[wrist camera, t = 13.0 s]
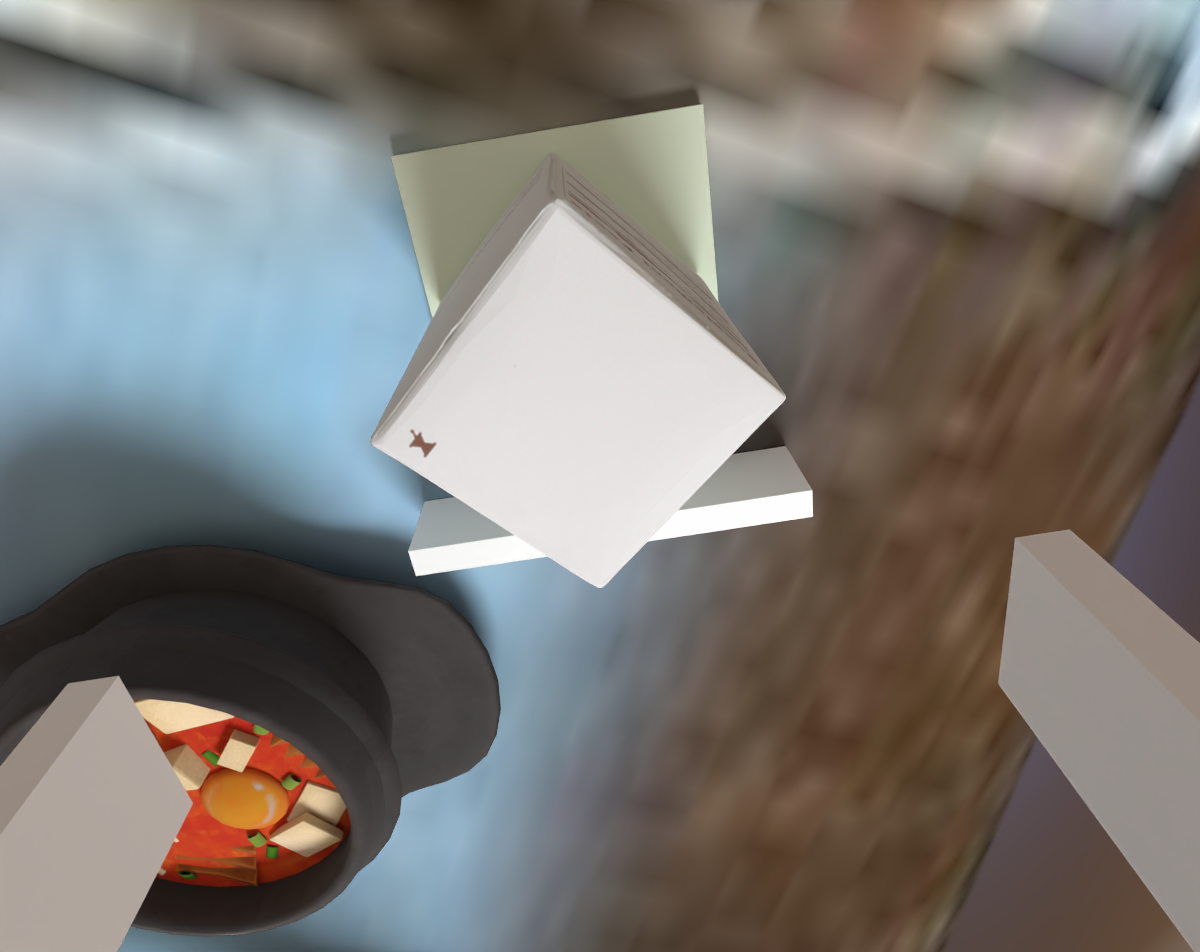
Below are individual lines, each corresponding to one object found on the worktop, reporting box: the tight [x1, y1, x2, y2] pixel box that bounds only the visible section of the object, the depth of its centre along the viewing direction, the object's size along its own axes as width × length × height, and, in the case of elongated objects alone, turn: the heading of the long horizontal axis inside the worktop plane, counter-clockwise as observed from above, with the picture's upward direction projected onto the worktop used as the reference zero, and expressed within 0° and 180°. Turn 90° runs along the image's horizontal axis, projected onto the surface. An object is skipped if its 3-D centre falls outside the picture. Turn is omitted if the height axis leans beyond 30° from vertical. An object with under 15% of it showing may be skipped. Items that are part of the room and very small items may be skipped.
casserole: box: [0, 545, 501, 936], centre depth 34 cm, size 25×19×8 cm
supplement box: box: [371, 153, 786, 588], centre depth 24 cm, size 7×7×13 cm
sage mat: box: [391, 104, 718, 318], centre depth 29 cm, size 11×11×1 cm
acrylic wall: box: [408, 446, 813, 576], centre depth 32 cm, size 16×1×4 cm, turn 99°
